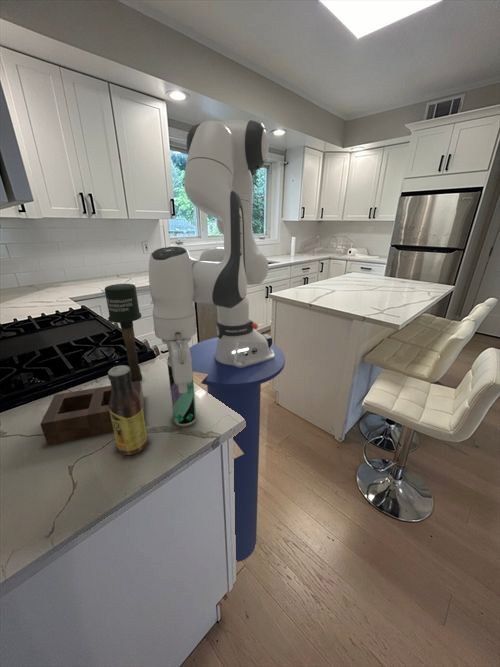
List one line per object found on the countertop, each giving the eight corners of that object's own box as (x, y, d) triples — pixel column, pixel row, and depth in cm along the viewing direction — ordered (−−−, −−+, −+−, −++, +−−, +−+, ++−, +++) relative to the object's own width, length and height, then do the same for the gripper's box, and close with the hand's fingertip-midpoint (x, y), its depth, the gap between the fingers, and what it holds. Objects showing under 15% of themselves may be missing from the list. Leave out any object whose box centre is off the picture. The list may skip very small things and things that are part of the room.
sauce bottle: (116, 442, 63) (98, 365, 55) (144, 432, 66) (131, 358, 58) (120, 462, 58) (102, 381, 50) (151, 450, 61) (138, 372, 53)
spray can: (173, 414, 72) (165, 344, 64) (194, 410, 74) (189, 341, 66) (175, 428, 67) (166, 354, 60) (197, 423, 69) (191, 351, 61)
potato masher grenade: (115, 386, 84) (94, 288, 72) (134, 372, 91) (119, 282, 80) (138, 391, 81) (121, 291, 70) (156, 376, 89) (143, 284, 77)
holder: (143, 398, 78) (140, 380, 76) (143, 425, 68) (140, 405, 66) (60, 413, 72) (54, 394, 69) (47, 445, 62) (40, 423, 60)
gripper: (198, 342, 52) (201, 403, 57) (184, 311, 70) (187, 360, 75) (163, 346, 50) (170, 409, 55) (158, 313, 68) (163, 363, 73)
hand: (180, 380), depth 65 cm, fingers open, 8 cm apart
